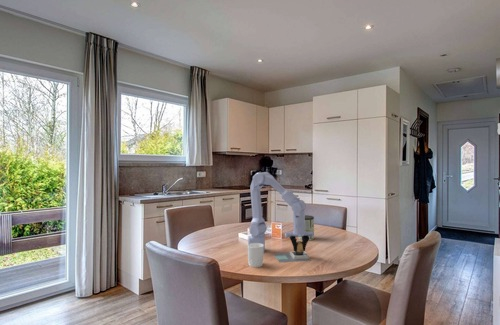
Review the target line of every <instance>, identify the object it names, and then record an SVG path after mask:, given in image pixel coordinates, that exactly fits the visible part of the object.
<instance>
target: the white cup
mask: <svg viewBox="0 0 500 325" xmlns="http://www.w3.org/2000/svg"><path fill="white" fill-rule="evenodd" d="M246 249H247V262H248V266H249V267H251V268H259V267H262V266H264V255H265V254H264V252H265V251H264V245H263V244H260V243H251V244H248V243H247V246H246Z"/></svg>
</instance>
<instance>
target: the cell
mask: <svg viewBox="0 0 500 325" xmlns="http://www.w3.org/2000/svg"><path fill="white" fill-rule="evenodd" d="M294 252H295V251H294ZM295 254H296V255H303V242H302V240H297V241H296V252H295Z"/></svg>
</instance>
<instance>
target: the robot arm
mask: <svg viewBox="0 0 500 325" xmlns="http://www.w3.org/2000/svg"><path fill="white" fill-rule="evenodd" d="M265 185H266V186H271V187H272V189H274V190H275V191H277V192H278V193H279V194H280V195H281V198H282V200H283V201H285V203H286V204H288V206H290V207H291V211H292V212H293V231H291V232H285V233H284V237H285V238H289V239H290V241H291V244H292V246H293V252H296V242H297V241H298V237H302V240H301V242H303V251H305V252H306V246H307V244H308V242H309V241H310V240H309V237H308V236H313V232H305V214H306V213H305V210H306V209H307V204H306V203H305V201H304V200H302V199H300V197H298V196H296V195H295V194H294V191H292V190H289V189H288V190H287V189H286V188H284V187H283V186H282V185H281V184H280V182H279V181H277V179H276V178H275V177H274V175H272V174H271V173H270V172H267V171H264V172H256V173H255V174H254V175H253V176H252V180H251V183H250V187H249V188H250V201H251V212H252V213H251V214H252V219H251V221H250V227H249V234H250V235H248V236H247V245H248V244H251V243H260V244H263V245H264V252H265V251H266V236H265V235H266V232H267V230H268V227H267V224H266V221H265V218H264V217H263V209H262V198H261V189H262V188H263V187H264V186H265Z"/></svg>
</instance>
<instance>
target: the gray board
mask: <svg viewBox="0 0 500 325" xmlns="http://www.w3.org/2000/svg"><path fill="white" fill-rule="evenodd" d="M273 255H274V257H275V259H276V260H278V263H293V262H308V261H309V262H310V261H312V260H311V258H310V255H309V254H308V253H307V252H306V250H305V251H303V255H296V254H295V251H289V252H281V253H280V252H278V253H277V252H276V253H273Z"/></svg>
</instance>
